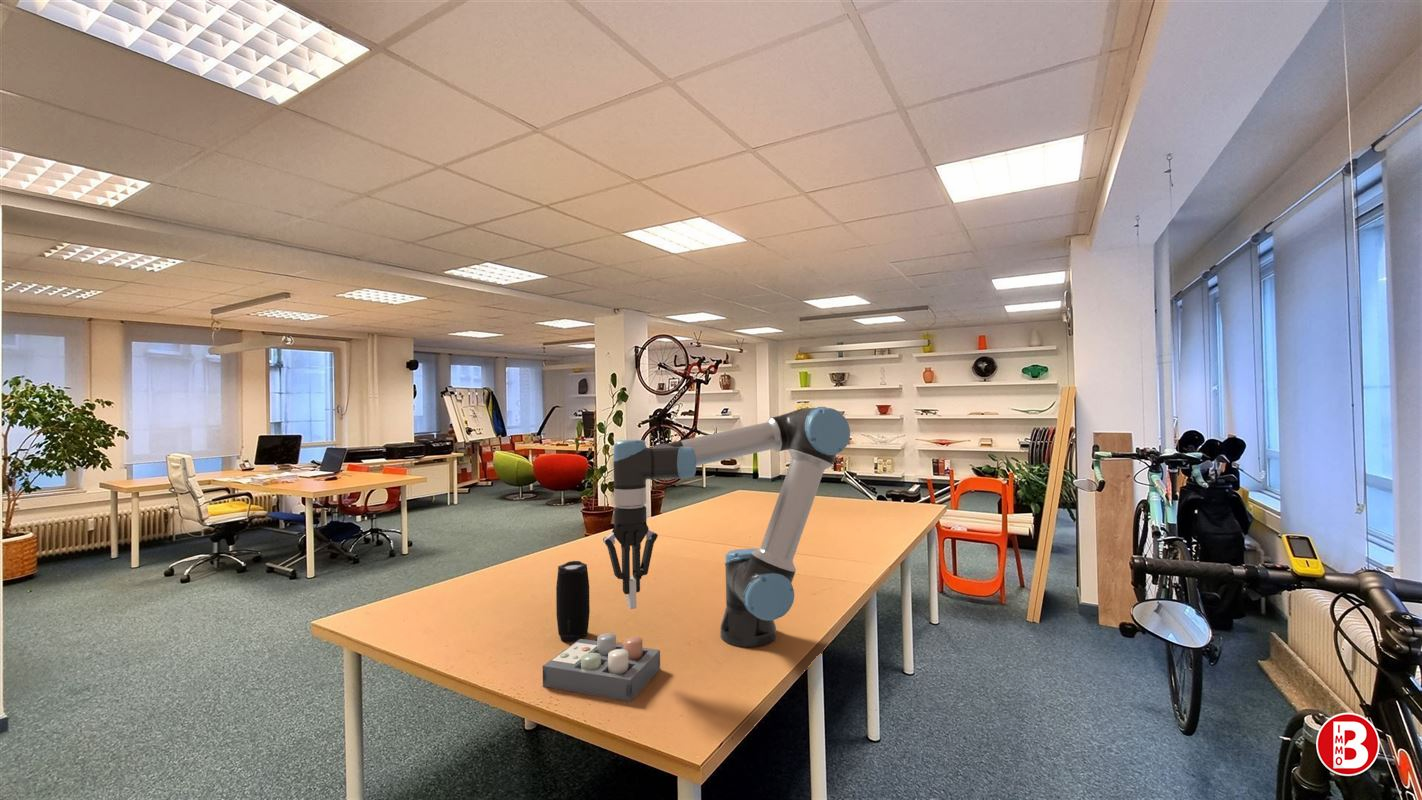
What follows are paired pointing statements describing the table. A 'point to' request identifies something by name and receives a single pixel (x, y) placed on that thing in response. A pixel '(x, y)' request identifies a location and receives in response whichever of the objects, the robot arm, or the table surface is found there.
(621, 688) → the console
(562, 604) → the portable speaker
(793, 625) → the table surface
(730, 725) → the table surface
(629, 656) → the button terracotta
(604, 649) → the button grey
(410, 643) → the table surface
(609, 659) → the button ivory
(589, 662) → the button sage
